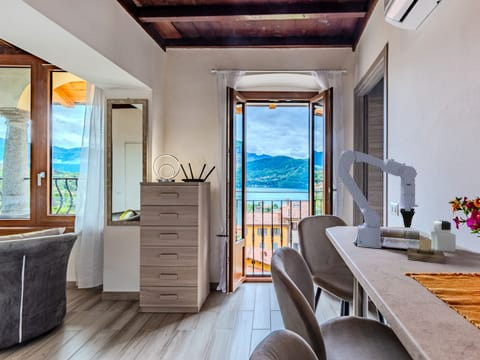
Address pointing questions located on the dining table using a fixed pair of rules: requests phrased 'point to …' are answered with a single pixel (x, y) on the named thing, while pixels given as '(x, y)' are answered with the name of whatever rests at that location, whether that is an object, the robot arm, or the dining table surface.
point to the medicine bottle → (443, 237)
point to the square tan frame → (426, 256)
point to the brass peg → (425, 246)
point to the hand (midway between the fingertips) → (407, 226)
